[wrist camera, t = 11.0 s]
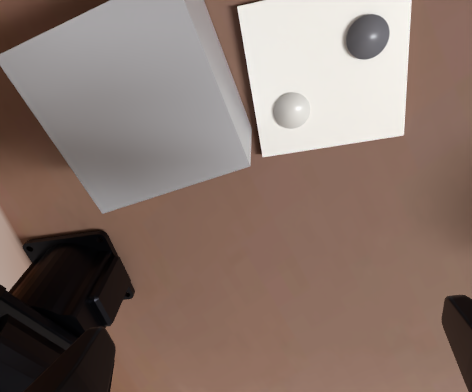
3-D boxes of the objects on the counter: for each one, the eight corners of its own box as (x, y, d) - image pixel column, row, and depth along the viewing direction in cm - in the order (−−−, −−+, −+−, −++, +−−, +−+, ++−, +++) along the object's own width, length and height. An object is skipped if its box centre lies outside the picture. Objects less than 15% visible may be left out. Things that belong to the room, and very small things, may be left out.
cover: (132, 169, 22) (102, 213, 17) (56, 40, 18) (-6, 56, 14) (251, 128, 20) (250, 166, 16) (194, -25, 16) (171, -30, 12)
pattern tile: (262, 154, 21) (262, 158, 20) (237, 6, 17) (236, 6, 16) (401, 132, 20) (405, 136, 19) (409, -33, 16) (415, -33, 15)
